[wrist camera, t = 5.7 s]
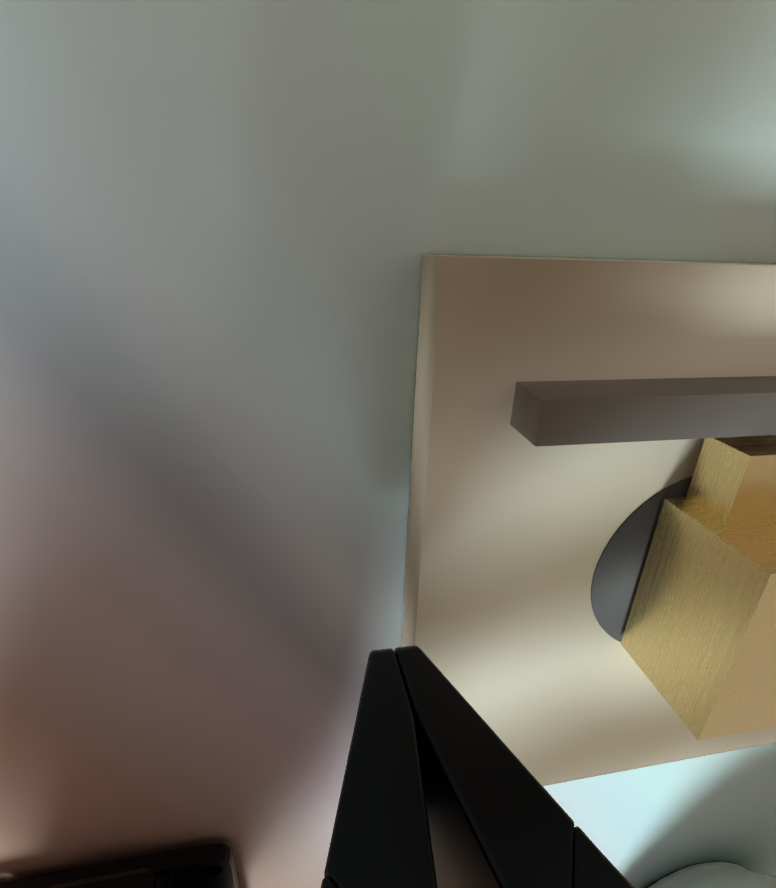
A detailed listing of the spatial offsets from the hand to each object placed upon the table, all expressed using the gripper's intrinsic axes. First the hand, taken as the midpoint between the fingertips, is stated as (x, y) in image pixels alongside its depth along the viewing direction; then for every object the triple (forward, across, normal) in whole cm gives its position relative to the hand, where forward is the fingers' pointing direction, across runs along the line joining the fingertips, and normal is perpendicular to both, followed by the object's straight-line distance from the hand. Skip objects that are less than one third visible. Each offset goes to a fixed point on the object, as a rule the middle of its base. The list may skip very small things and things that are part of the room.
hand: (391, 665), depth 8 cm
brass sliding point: (+1, -7, 0) cm, 8 cm away
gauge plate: (+3, -10, 0) cm, 11 cm away
